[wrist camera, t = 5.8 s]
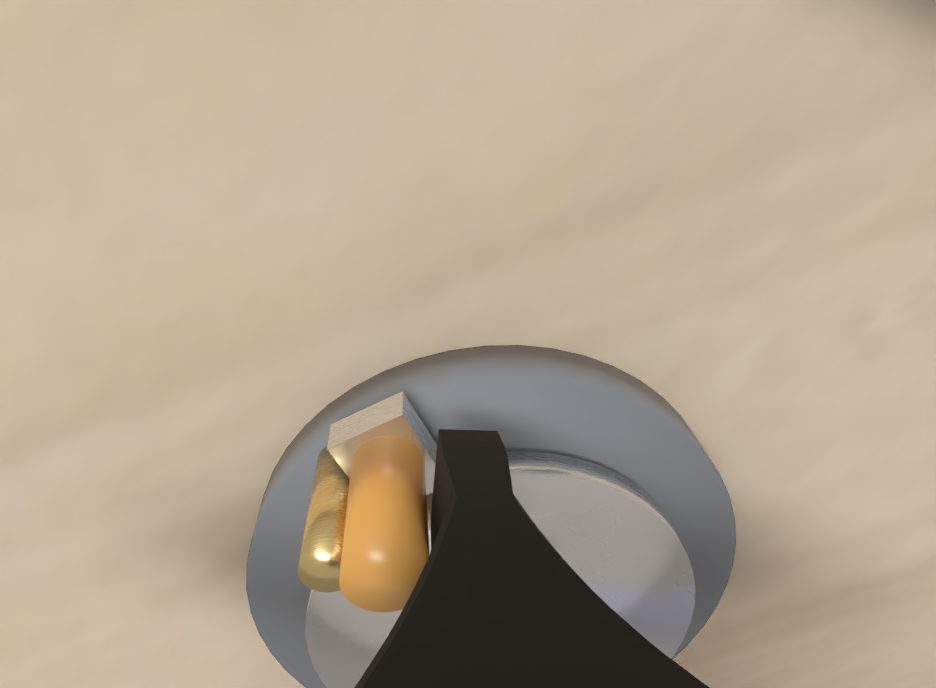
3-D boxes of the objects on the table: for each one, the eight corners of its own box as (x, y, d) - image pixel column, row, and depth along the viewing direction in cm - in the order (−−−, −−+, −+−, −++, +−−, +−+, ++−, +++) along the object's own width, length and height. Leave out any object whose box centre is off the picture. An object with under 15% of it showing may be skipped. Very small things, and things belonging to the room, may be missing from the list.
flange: (723, 638, 17) (795, 784, 14) (420, 753, 18) (424, 909, 15) (577, 310, 12) (639, 421, 9) (174, 496, 13) (105, 651, 10)
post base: (785, 543, 18) (889, 693, 15) (461, 733, 21) (475, 901, 17) (535, 239, 13) (591, 342, 10) (156, 541, 16) (79, 715, 12)
